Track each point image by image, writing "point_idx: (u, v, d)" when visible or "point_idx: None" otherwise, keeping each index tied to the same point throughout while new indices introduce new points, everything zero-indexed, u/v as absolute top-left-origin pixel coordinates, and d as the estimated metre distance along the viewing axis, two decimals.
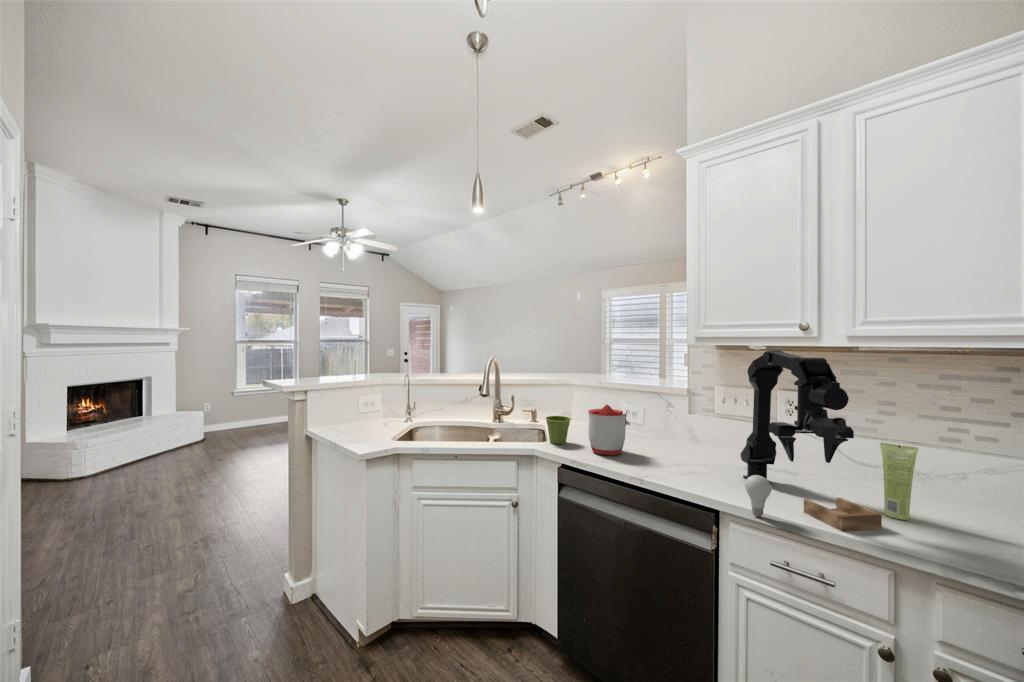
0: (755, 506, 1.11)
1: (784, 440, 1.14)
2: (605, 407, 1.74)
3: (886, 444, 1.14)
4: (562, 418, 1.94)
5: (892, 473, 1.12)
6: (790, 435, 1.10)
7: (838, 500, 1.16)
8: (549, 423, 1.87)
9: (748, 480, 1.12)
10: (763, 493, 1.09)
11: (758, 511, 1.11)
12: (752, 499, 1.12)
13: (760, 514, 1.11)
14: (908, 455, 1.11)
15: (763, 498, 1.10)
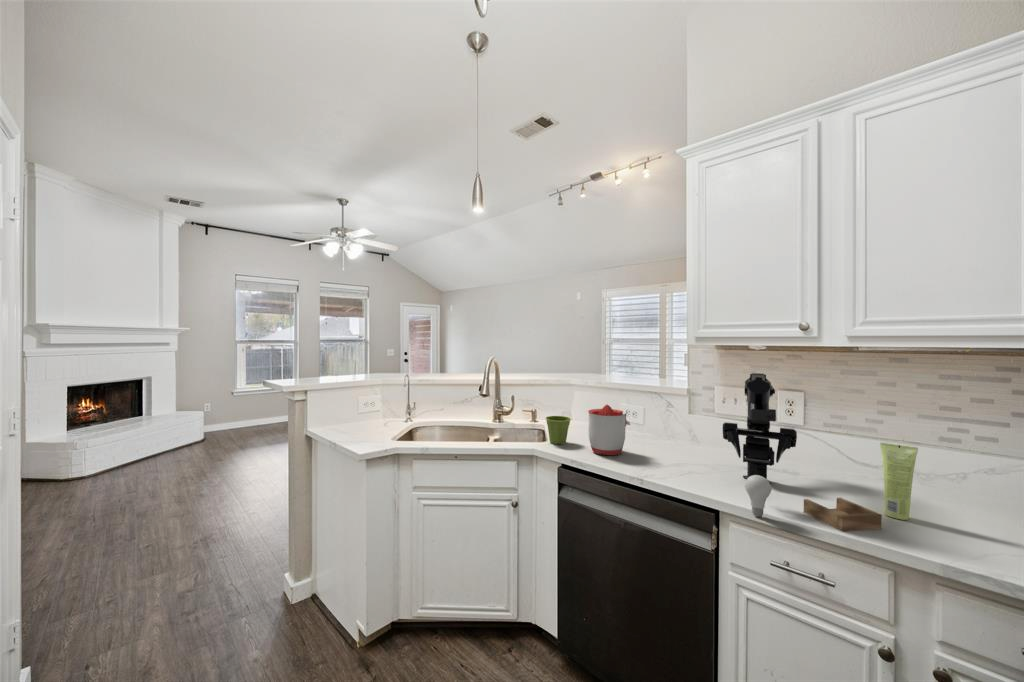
0: (755, 506, 1.11)
1: (735, 442, 1.26)
2: (605, 407, 1.74)
3: (886, 444, 1.14)
4: (562, 418, 1.94)
5: (892, 473, 1.12)
6: (732, 428, 1.25)
7: (838, 500, 1.16)
8: (549, 423, 1.87)
9: (748, 480, 1.12)
10: (763, 493, 1.09)
11: (758, 511, 1.11)
12: (752, 499, 1.12)
13: (760, 514, 1.11)
14: (908, 455, 1.11)
15: (763, 498, 1.10)
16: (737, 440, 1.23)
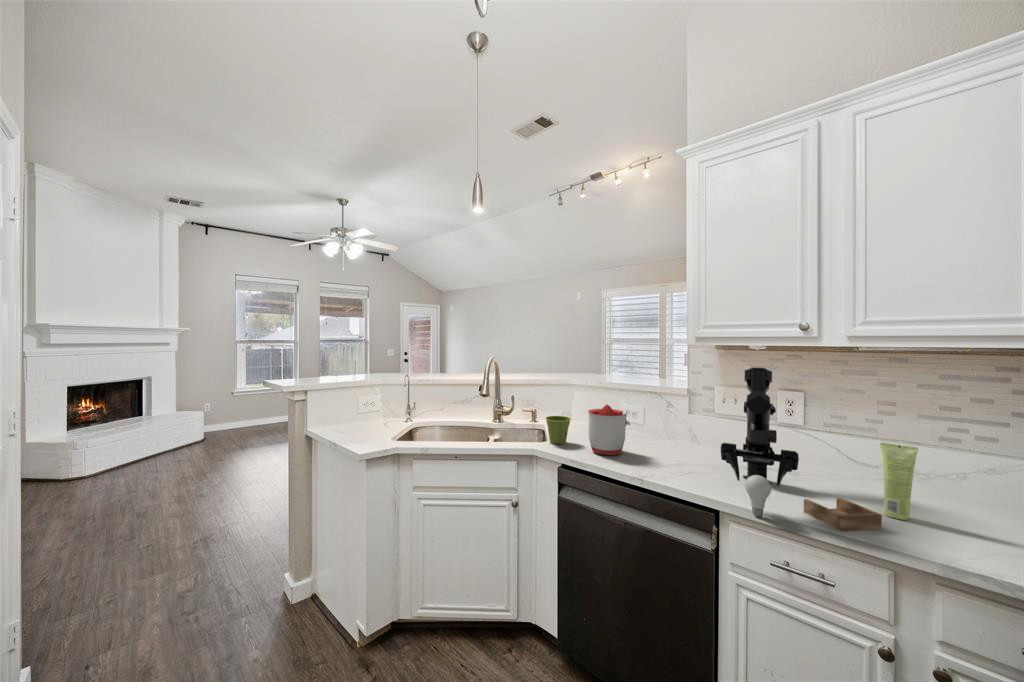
0: (755, 506, 1.11)
1: None
2: (605, 407, 1.74)
3: (886, 444, 1.14)
4: (562, 418, 1.94)
5: (892, 473, 1.12)
6: (731, 449, 1.19)
7: (838, 500, 1.16)
8: (549, 423, 1.87)
9: (748, 480, 1.12)
10: (763, 493, 1.09)
11: (758, 511, 1.11)
12: (752, 499, 1.12)
13: (760, 514, 1.11)
14: (908, 455, 1.11)
15: (763, 498, 1.10)
16: (736, 462, 1.18)
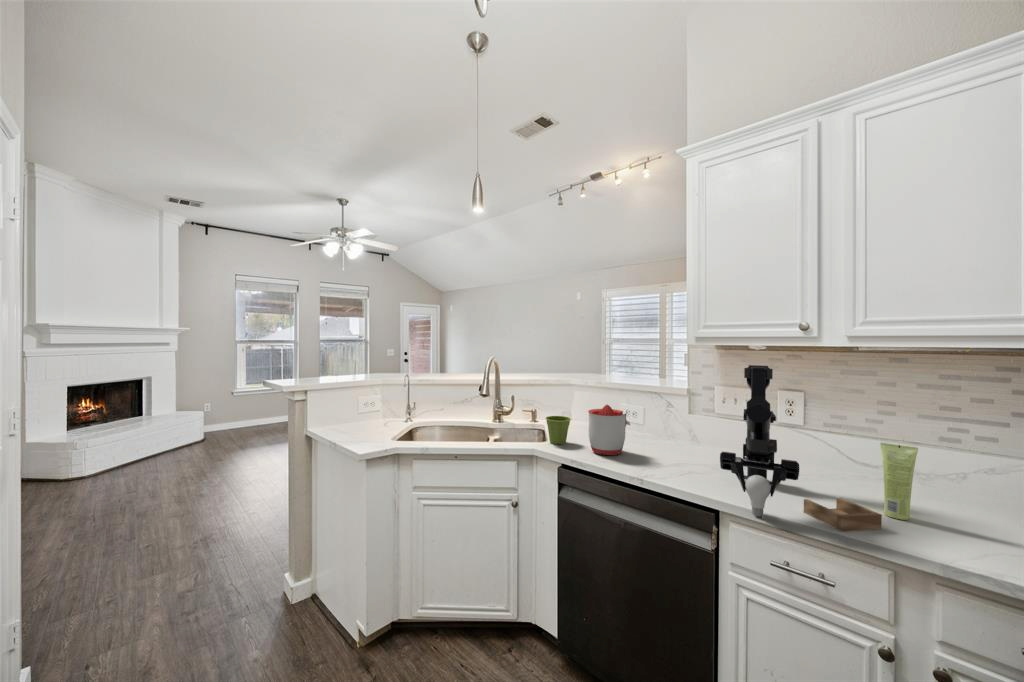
0: (755, 506, 1.11)
1: (739, 474, 1.17)
2: (605, 407, 1.74)
3: (886, 444, 1.14)
4: (562, 418, 1.94)
5: (892, 473, 1.12)
6: (730, 458, 1.17)
7: (838, 500, 1.16)
8: (549, 423, 1.87)
9: (748, 480, 1.12)
10: (763, 493, 1.09)
11: (758, 511, 1.11)
12: (752, 499, 1.12)
13: (760, 514, 1.11)
14: (908, 455, 1.11)
15: (763, 498, 1.10)
16: (742, 472, 1.15)
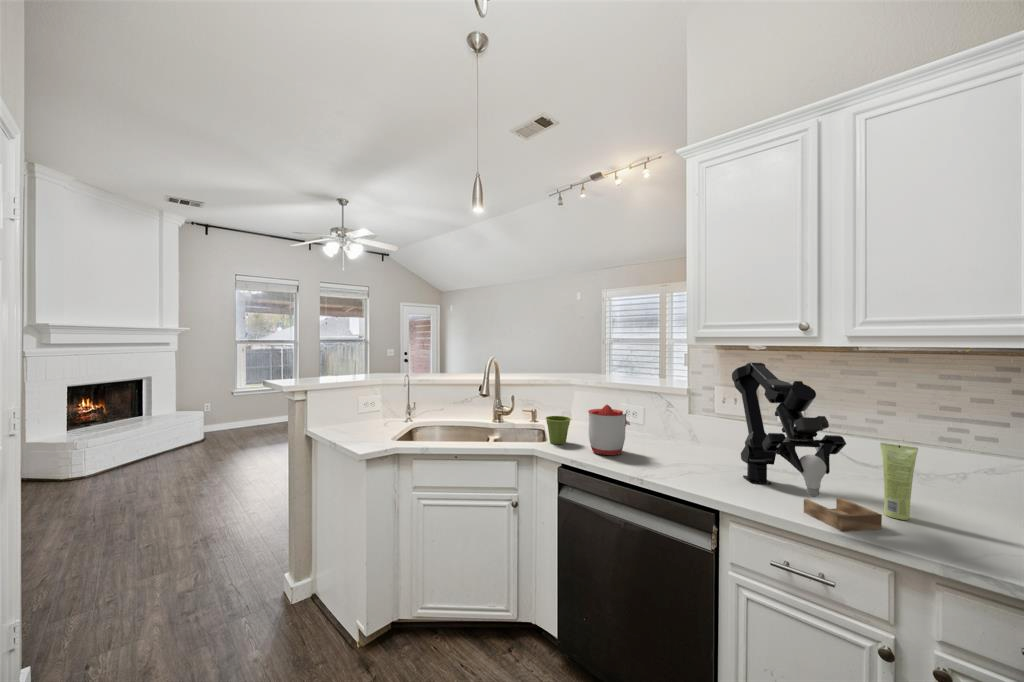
0: (813, 487, 1.08)
1: (787, 454, 1.13)
2: (605, 407, 1.74)
3: (886, 444, 1.14)
4: (562, 418, 1.94)
5: (892, 473, 1.12)
6: (781, 439, 1.12)
7: (838, 500, 1.16)
8: (549, 423, 1.87)
9: (804, 461, 1.09)
10: (823, 472, 1.07)
11: (816, 491, 1.08)
12: (810, 480, 1.08)
13: (818, 494, 1.08)
14: (908, 455, 1.11)
15: (821, 477, 1.07)
16: (794, 453, 1.11)
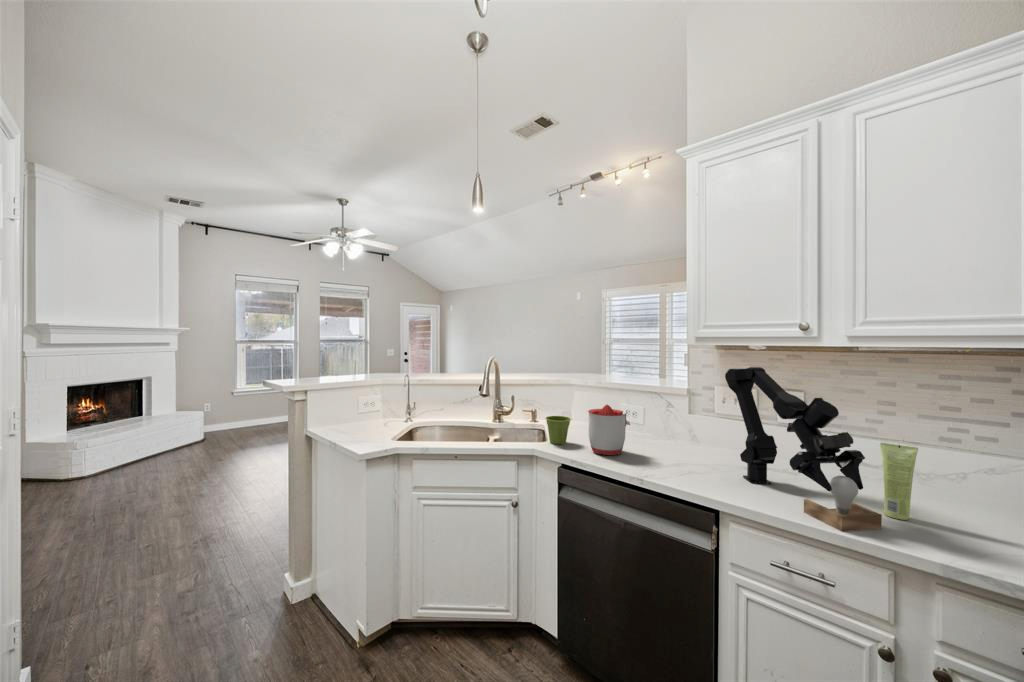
0: (846, 508, 1.09)
1: (811, 473, 1.12)
2: (605, 407, 1.74)
3: (886, 444, 1.14)
4: (562, 418, 1.94)
5: (892, 473, 1.12)
6: (813, 458, 1.11)
7: None
8: (549, 423, 1.87)
9: (839, 483, 1.09)
10: (856, 494, 1.08)
11: (847, 512, 1.09)
12: (843, 501, 1.09)
13: None
14: (908, 455, 1.11)
15: None
16: (820, 471, 1.10)
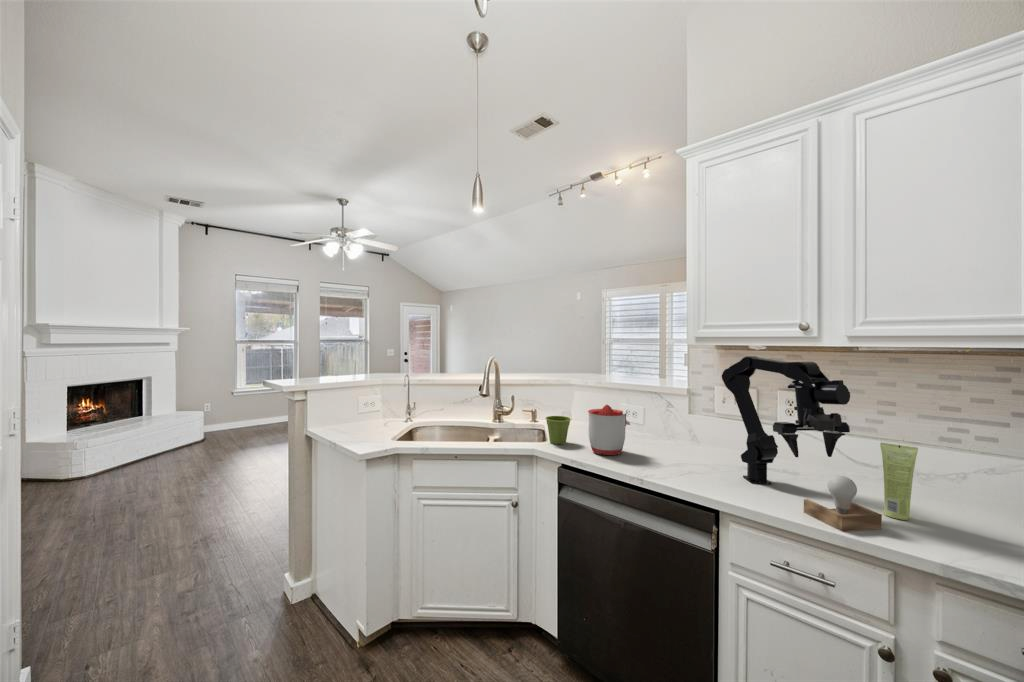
0: (845, 508, 1.09)
1: (788, 438, 1.25)
2: (605, 407, 1.74)
3: (886, 444, 1.14)
4: (562, 418, 1.94)
5: (892, 473, 1.12)
6: (793, 432, 1.21)
7: None
8: (549, 423, 1.87)
9: (838, 482, 1.09)
10: (855, 493, 1.08)
11: (847, 512, 1.09)
12: (842, 501, 1.09)
13: None
14: (908, 455, 1.11)
15: None
16: (795, 442, 1.23)
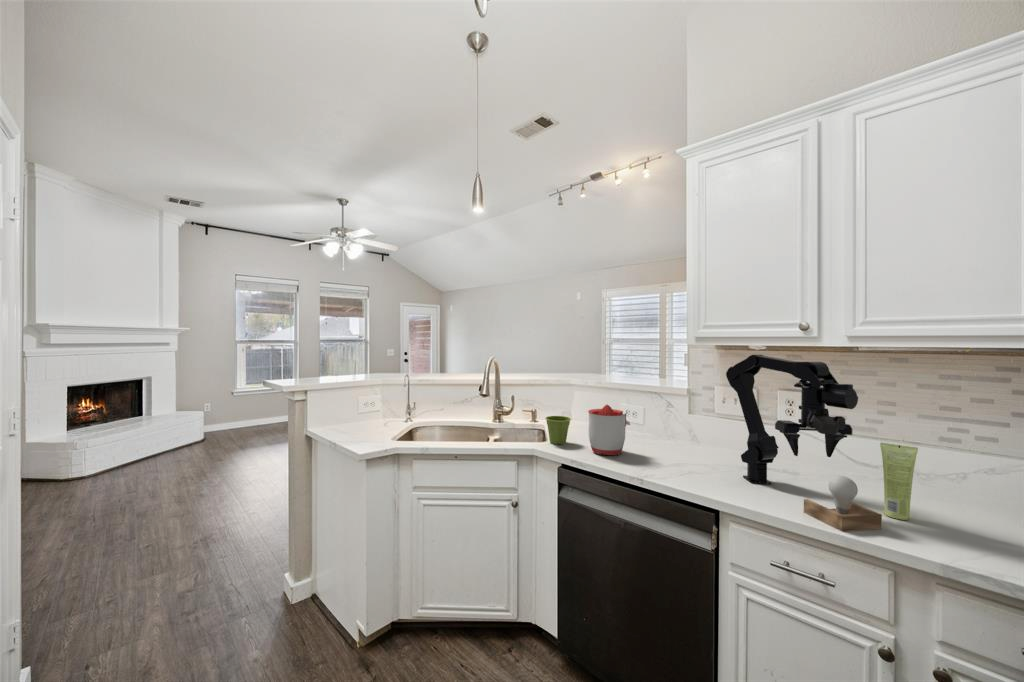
0: (845, 508, 1.09)
1: (789, 436, 1.25)
2: (605, 407, 1.74)
3: (886, 444, 1.14)
4: (562, 418, 1.94)
5: (892, 473, 1.12)
6: (795, 432, 1.22)
7: None
8: (549, 423, 1.87)
9: (839, 483, 1.09)
10: (856, 494, 1.08)
11: (847, 512, 1.09)
12: (843, 502, 1.09)
13: None
14: (908, 455, 1.11)
15: (853, 498, 1.09)
16: (796, 441, 1.23)
